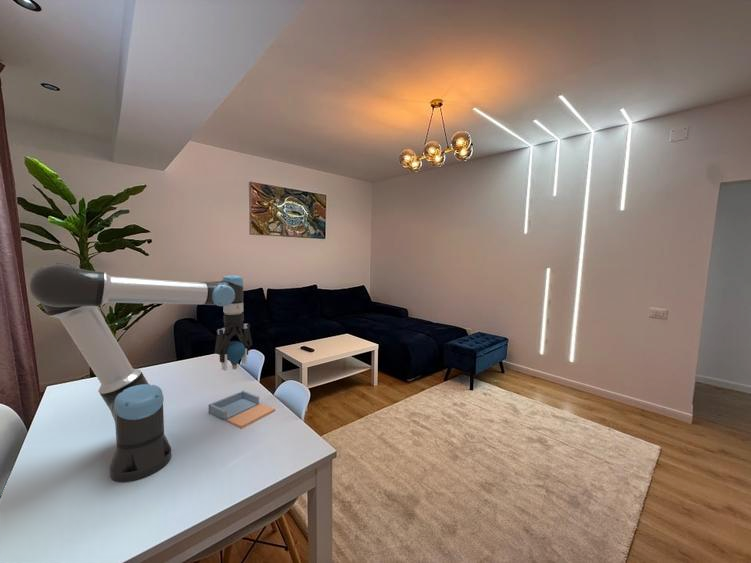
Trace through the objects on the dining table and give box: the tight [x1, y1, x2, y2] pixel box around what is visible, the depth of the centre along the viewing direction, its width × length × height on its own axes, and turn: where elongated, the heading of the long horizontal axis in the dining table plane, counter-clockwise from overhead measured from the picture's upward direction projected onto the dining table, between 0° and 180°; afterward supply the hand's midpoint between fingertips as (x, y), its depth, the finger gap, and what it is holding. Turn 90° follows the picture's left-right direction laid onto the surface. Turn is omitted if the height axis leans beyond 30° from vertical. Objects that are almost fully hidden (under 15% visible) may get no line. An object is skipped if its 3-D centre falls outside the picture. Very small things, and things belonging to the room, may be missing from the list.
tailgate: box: [225, 403, 276, 429], centre depth 122 cm, size 16×1×10 cm
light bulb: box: [225, 340, 245, 370], centre depth 126 cm, size 8×8×12 cm
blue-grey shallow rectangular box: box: [208, 390, 260, 422], centre depth 128 cm, size 16×11×4 cm
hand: (234, 366), depth 126 cm, fingers closed on light bulb, 8 cm apart
